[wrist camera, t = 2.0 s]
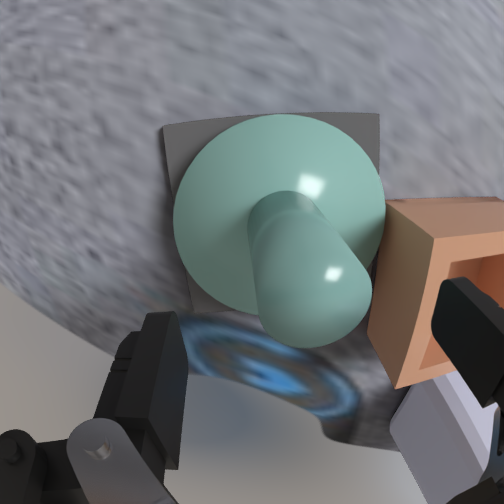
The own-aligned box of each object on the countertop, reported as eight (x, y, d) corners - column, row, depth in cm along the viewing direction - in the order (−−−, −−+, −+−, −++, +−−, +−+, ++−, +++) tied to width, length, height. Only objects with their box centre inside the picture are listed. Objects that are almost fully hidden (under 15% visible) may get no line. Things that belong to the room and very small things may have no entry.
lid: (162, 125, 13) (103, 145, 7) (379, 114, 13) (477, 131, 7) (194, 313, 17) (181, 417, 11) (368, 294, 18) (421, 381, 11)
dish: (382, 199, 15) (434, 238, 11) (495, 196, 16) (548, 226, 11) (366, 333, 19) (394, 389, 15) (468, 310, 20) (503, 351, 15)
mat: (164, 125, 13) (162, 126, 13) (375, 113, 13) (379, 114, 13) (194, 309, 18) (194, 313, 17) (366, 290, 18) (368, 294, 18)
